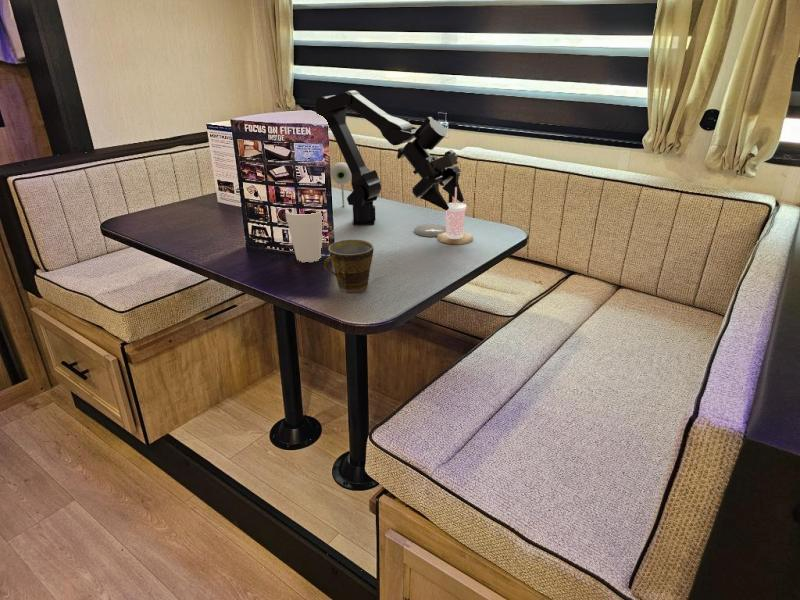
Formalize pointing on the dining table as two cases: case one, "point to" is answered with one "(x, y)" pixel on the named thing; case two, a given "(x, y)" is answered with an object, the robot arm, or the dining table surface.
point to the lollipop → (341, 175)
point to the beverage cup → (455, 219)
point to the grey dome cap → (429, 230)
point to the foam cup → (306, 235)
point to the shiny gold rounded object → (463, 240)
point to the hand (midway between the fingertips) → (455, 205)
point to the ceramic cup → (351, 264)
